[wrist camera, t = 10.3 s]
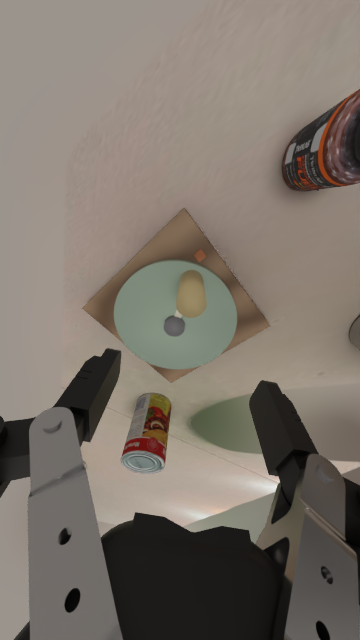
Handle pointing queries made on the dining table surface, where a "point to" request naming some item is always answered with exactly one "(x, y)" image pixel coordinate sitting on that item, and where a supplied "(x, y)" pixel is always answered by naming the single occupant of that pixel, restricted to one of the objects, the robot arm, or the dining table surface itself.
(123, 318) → the dial
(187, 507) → the dining table surface
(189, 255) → the base board
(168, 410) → the canned food
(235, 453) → the dining table surface
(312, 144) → the supplement bottle
